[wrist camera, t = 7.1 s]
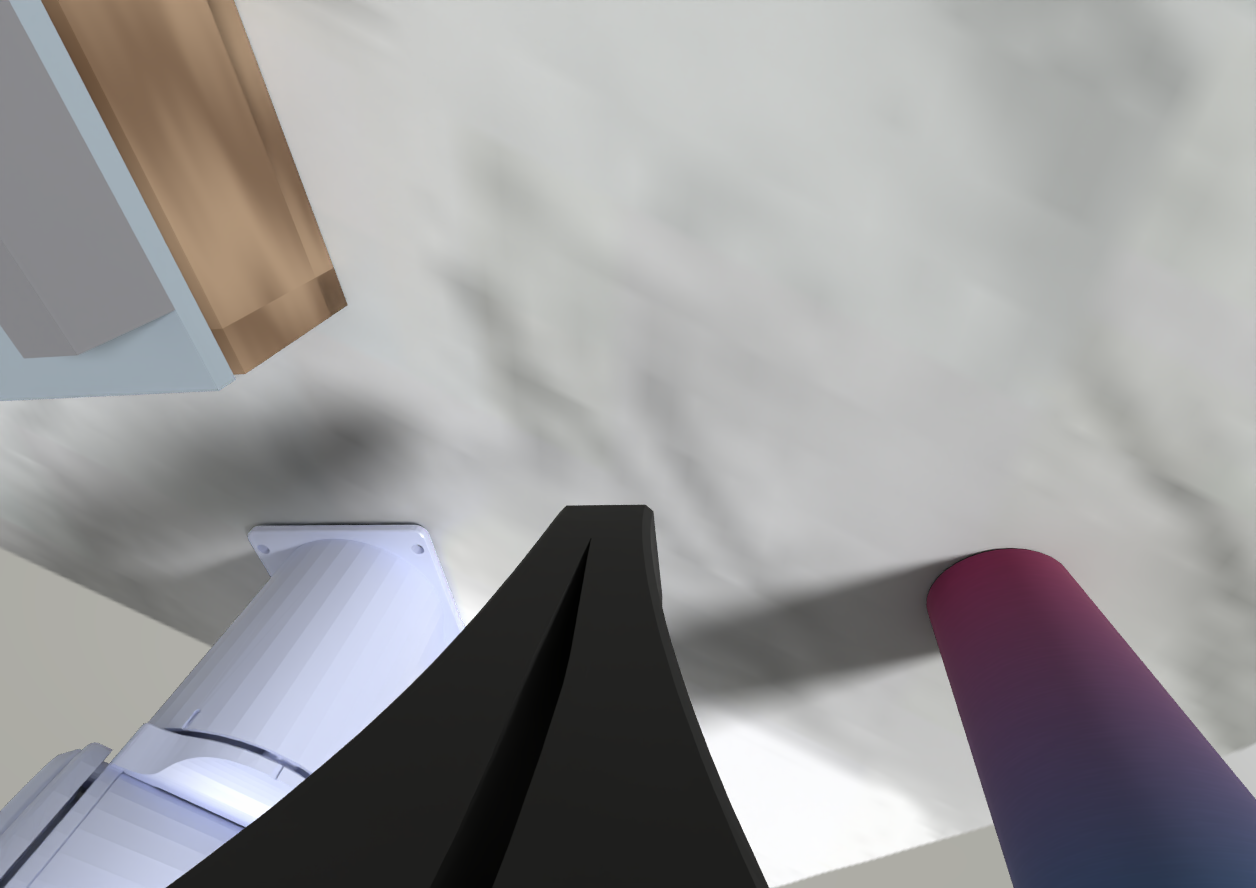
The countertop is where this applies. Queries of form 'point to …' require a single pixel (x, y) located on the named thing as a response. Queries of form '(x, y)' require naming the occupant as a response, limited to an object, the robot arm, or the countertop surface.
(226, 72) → the walnut box
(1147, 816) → the cup
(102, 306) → the lid
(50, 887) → the robot arm
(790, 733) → the countertop surface
